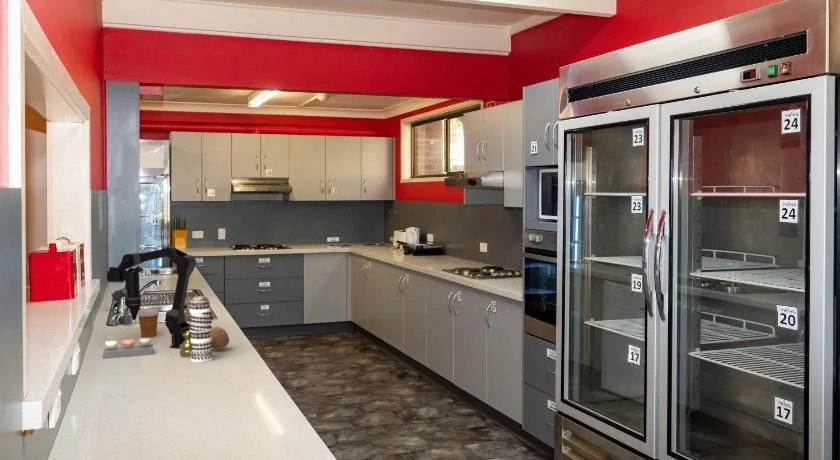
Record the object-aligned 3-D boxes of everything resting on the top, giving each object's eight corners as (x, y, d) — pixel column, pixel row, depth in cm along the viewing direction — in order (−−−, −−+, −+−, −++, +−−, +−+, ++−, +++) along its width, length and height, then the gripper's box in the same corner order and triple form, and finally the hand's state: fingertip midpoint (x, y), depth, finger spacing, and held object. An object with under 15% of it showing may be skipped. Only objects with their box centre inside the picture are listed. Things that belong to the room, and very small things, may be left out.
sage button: (150, 341, 319) (150, 337, 319) (150, 344, 315) (150, 339, 315) (139, 342, 317) (139, 338, 317) (139, 344, 313) (139, 340, 313)
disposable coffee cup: (145, 339, 344) (144, 312, 343) (133, 336, 350) (132, 310, 349) (164, 335, 351) (163, 309, 351) (152, 333, 357) (151, 307, 356)
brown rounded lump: (201, 351, 316) (200, 328, 316) (216, 347, 324) (215, 324, 324) (218, 353, 312) (217, 329, 311) (233, 349, 320) (232, 325, 319)
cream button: (117, 344, 314) (117, 339, 314) (117, 346, 310) (116, 342, 310) (105, 345, 313) (105, 340, 313) (105, 347, 309) (105, 343, 308)
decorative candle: (212, 355, 308) (210, 294, 307) (215, 360, 300) (212, 297, 298) (188, 358, 305) (186, 296, 303) (190, 363, 296) (188, 299, 295)
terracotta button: (134, 343, 317) (133, 338, 316) (134, 345, 312) (133, 340, 312) (122, 344, 315) (122, 339, 315) (122, 346, 311) (122, 341, 311)
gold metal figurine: (193, 357, 306) (192, 333, 305) (176, 357, 308) (175, 332, 307) (202, 353, 313) (201, 329, 313) (185, 353, 315) (184, 329, 314)
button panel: (153, 349, 321) (152, 344, 321) (153, 354, 313) (153, 348, 313) (104, 354, 315) (103, 348, 315) (103, 358, 306) (103, 352, 306)
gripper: (113, 281, 334) (114, 316, 335) (111, 286, 317) (113, 323, 318) (140, 279, 338) (141, 314, 339) (139, 284, 321) (141, 321, 322)
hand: (134, 318), depth 329 cm, fingers open, 8 cm apart
